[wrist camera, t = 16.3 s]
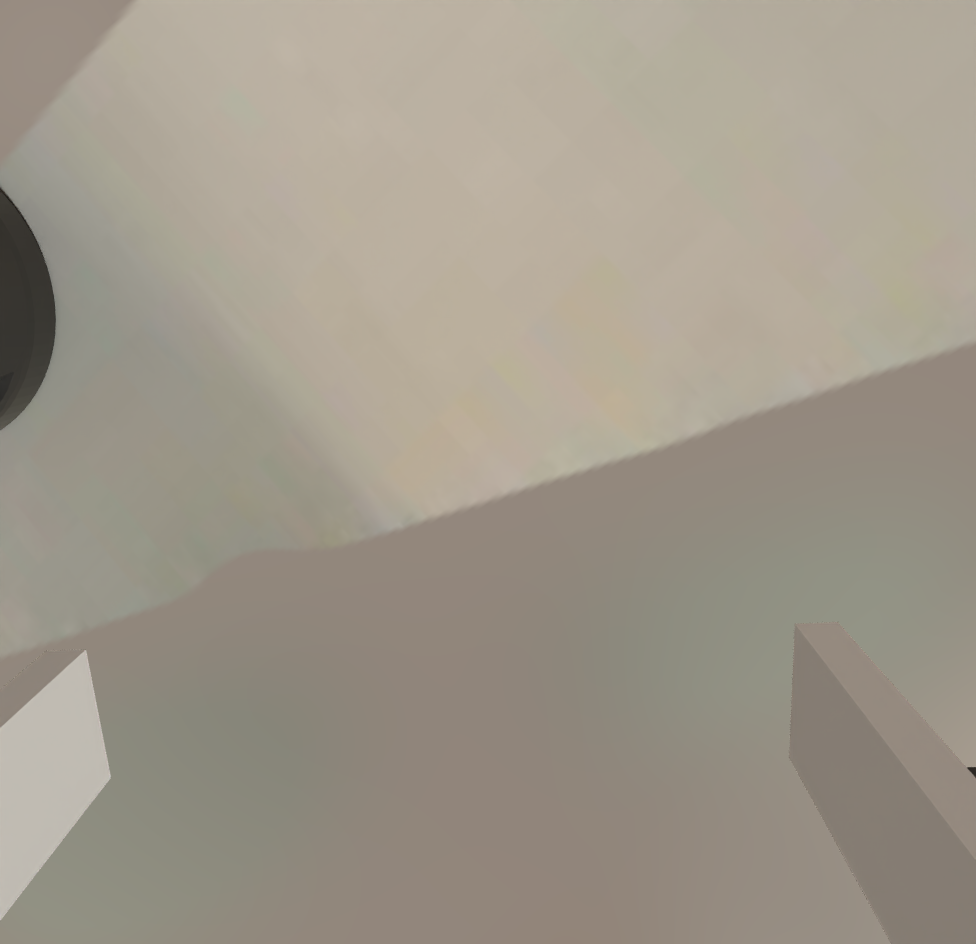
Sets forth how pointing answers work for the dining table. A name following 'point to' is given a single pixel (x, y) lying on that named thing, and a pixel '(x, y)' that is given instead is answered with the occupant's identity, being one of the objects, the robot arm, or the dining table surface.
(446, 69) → the dining table surface
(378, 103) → the dining table surface
